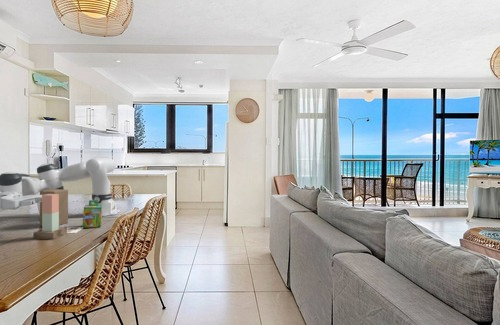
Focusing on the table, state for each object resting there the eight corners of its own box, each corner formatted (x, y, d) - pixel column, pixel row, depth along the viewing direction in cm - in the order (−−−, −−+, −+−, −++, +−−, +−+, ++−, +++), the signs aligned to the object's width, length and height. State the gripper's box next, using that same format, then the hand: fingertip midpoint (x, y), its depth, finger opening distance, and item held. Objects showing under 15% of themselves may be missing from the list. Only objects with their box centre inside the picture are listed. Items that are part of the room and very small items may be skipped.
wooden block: (54, 226, 169) (54, 191, 168) (39, 225, 171) (39, 190, 170) (68, 223, 179) (68, 189, 178) (54, 221, 181) (54, 189, 180)
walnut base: (47, 233, 156) (47, 227, 155) (66, 233, 155) (66, 228, 155) (33, 238, 146) (33, 232, 145) (53, 239, 145) (53, 233, 145)
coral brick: (49, 211, 153) (49, 193, 152) (58, 211, 152) (58, 194, 152) (42, 213, 148) (41, 195, 147) (51, 213, 147) (51, 195, 147)
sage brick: (49, 228, 153) (49, 211, 153) (58, 229, 153) (58, 211, 152) (42, 231, 148) (42, 213, 148) (52, 231, 148) (52, 213, 147)
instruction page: (67, 227, 168) (67, 227, 168) (84, 227, 169) (84, 226, 169) (57, 233, 156) (57, 232, 156) (75, 233, 157) (75, 232, 157)
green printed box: (82, 228, 166) (83, 201, 166) (84, 224, 174) (85, 199, 174) (101, 227, 170) (101, 201, 169) (101, 223, 178) (102, 199, 178)
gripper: (28, 203, 160) (53, 204, 160) (-6, 210, 140) (23, 211, 140) (28, 191, 160) (53, 192, 160) (-6, 197, 140) (23, 198, 139)
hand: (39, 201), depth 150 cm, fingers open, 8 cm apart
